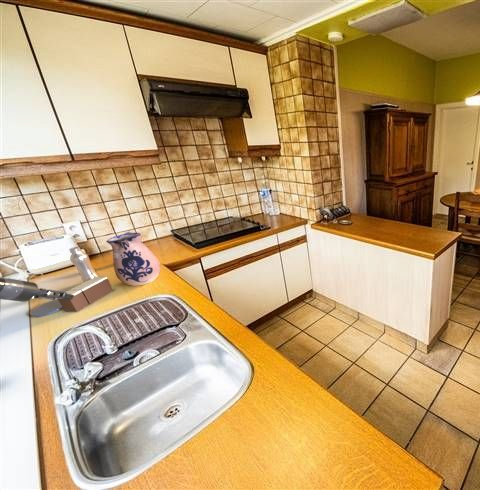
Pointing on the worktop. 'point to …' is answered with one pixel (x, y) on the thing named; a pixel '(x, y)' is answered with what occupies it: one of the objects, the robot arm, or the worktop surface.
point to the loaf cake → (94, 288)
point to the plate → (46, 308)
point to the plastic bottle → (82, 264)
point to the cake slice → (74, 301)
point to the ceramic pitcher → (133, 260)
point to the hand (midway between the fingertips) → (63, 297)
